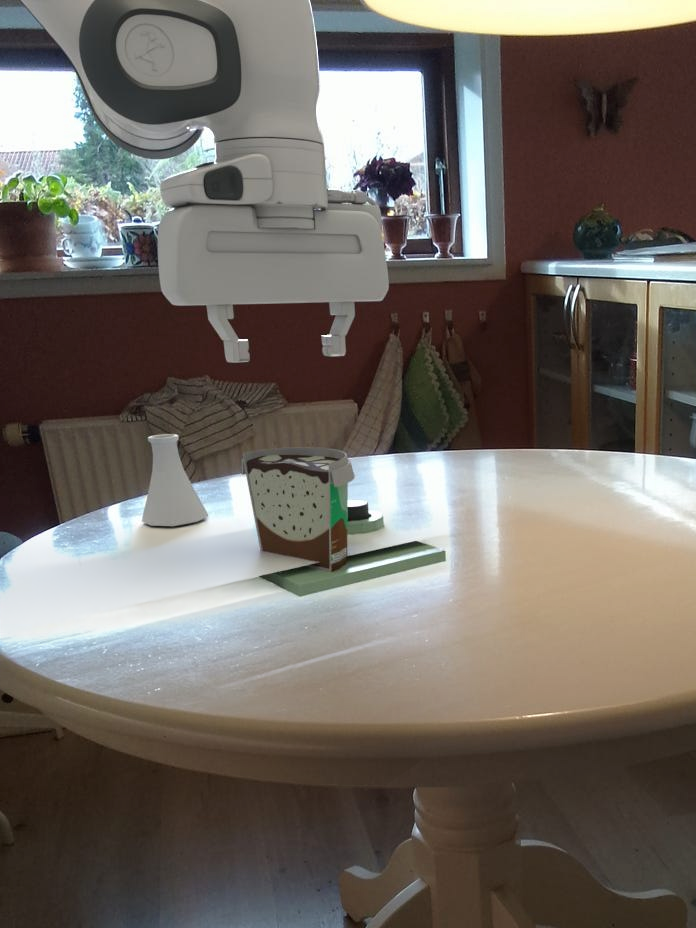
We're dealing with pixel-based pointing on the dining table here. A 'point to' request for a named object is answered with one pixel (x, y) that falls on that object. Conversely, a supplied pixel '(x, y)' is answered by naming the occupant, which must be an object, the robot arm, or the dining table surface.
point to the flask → (170, 487)
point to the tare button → (357, 510)
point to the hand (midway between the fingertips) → (287, 358)
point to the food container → (301, 502)
